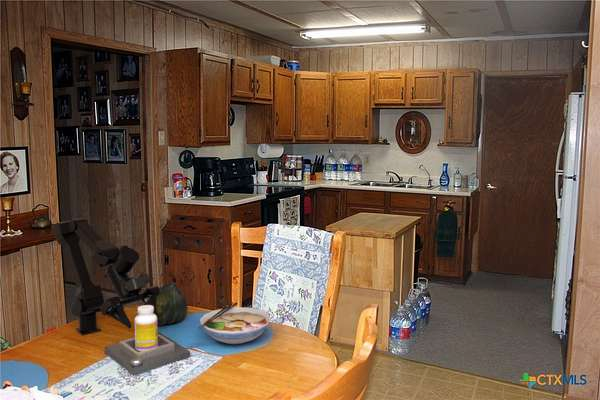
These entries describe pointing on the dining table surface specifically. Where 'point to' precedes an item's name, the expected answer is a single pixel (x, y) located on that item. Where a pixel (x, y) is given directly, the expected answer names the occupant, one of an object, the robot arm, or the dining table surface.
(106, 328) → the dining table surface
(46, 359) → the dining table surface
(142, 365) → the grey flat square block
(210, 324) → the ramen bowl
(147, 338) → the supplement bottle
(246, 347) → the dining table surface
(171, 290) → the squash
